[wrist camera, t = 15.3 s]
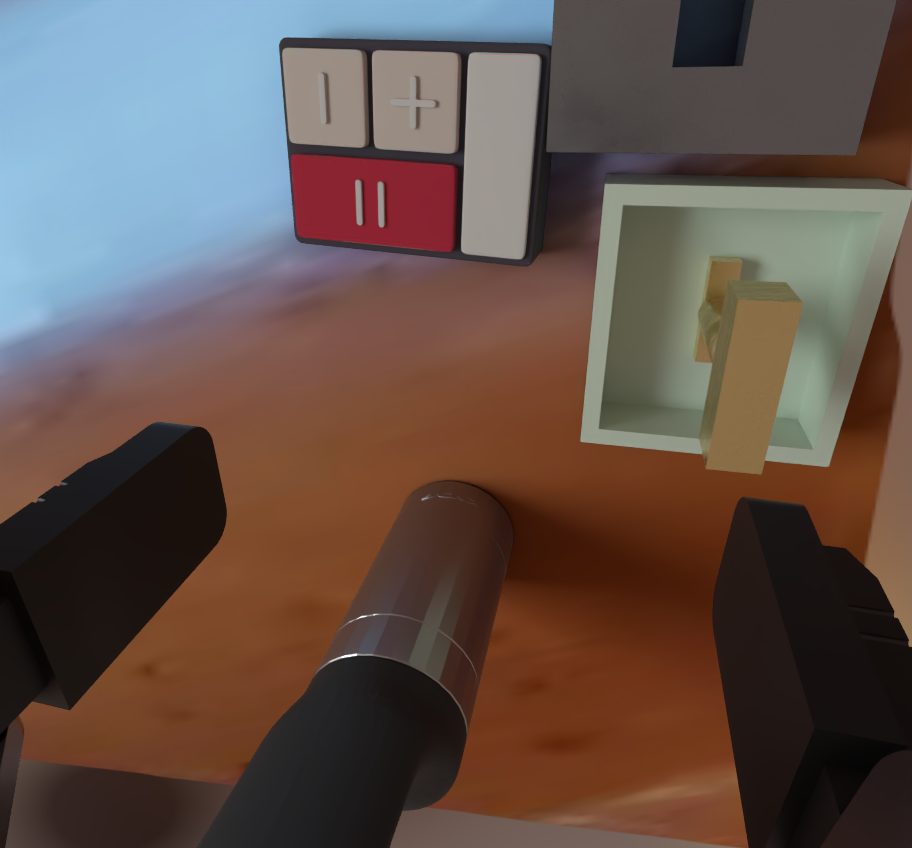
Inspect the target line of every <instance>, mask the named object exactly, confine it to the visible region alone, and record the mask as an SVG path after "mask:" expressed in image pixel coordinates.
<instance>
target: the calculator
mask: <svg viewBox="0 0 912 848" xmlns="http://www.w3.org/2000/svg"><path fill="white" fill-rule="evenodd" d="M279 51H280V63H281V75H282V87H283V99H284V111H285V123H286V134H287V146H288V158H289V170H290V182H291V194H292V206H293V218H294V229H295V237H296V239H297V240H298V241H299V242H301V243H306V244H315V245H325V246H334V247H344V248H353V249H363V250H372V251H382V252H391V253H401V254H410V255H420V256H429V257H439V258H448V259H458V260H467V261H477V262H486V263H496V264H505V265H515V266H529V265H530V264H531V263H532V262H533V261H534V260H535V258H536V257H537V256H538V254H539V253H540V252H541V250H542V246H543V237H544V227H545V217H546V207H547V196H548V186H549V176H550V166H551V155H552V152H546V146H547V127H548V108H549V89H550V71H551V52H552V46H550V45H547V44H537V43H496V42H454V41H413V40H371V39H330V38H283V39H282V40H281V41H280V44H279Z"/></svg>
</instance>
